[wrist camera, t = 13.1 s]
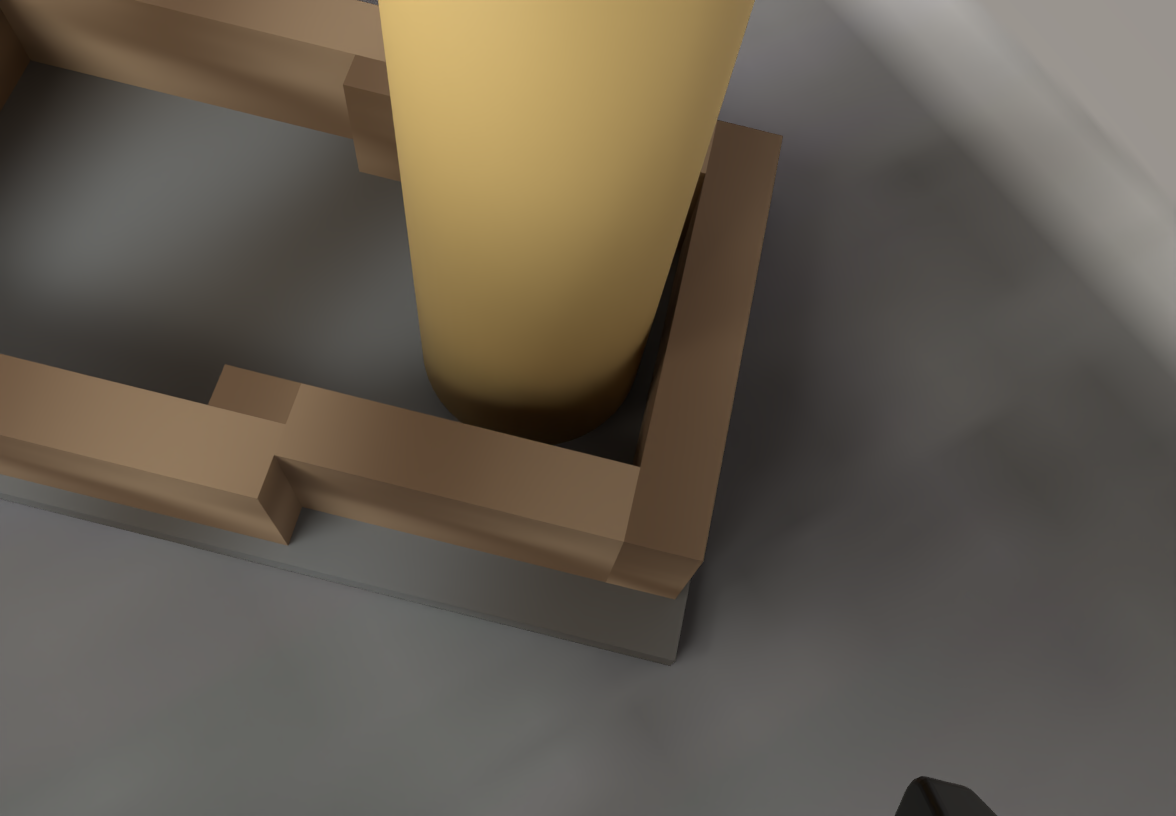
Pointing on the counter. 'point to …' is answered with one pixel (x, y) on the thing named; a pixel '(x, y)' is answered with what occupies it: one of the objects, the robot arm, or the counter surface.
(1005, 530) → the counter surface
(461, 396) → the peg
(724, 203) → the frame
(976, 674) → the counter surface
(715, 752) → the counter surface
